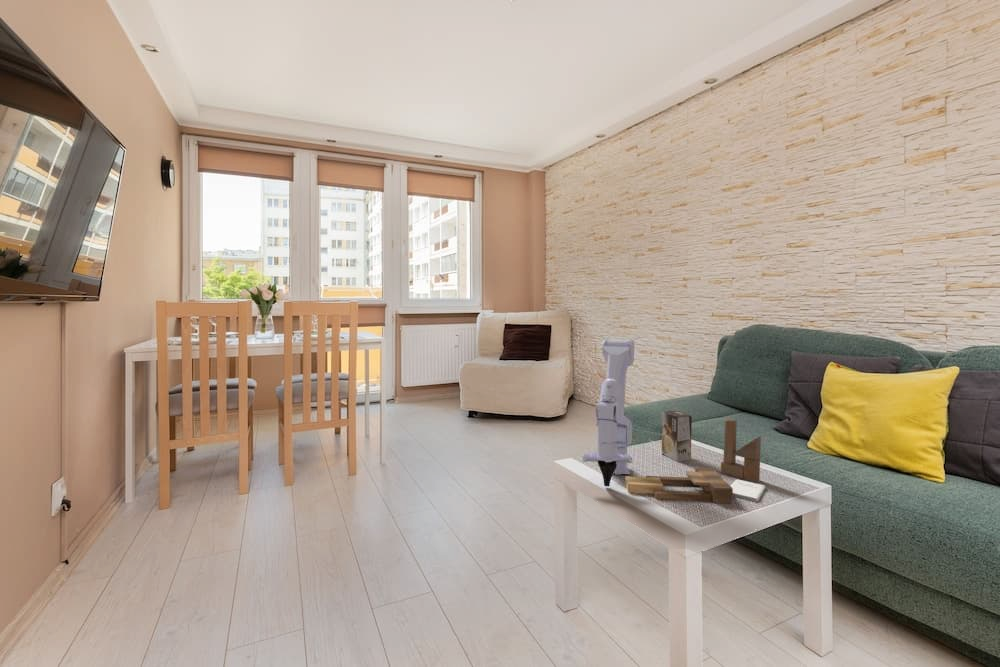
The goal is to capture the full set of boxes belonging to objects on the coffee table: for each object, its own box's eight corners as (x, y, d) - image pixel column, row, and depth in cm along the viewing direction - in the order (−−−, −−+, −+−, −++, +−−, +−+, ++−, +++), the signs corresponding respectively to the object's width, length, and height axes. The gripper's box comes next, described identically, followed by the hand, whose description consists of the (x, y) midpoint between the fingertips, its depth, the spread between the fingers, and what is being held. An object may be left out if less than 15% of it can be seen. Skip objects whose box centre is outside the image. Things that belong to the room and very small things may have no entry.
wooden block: (755, 483, 143) (756, 426, 142) (720, 473, 151) (721, 419, 150) (759, 480, 145) (761, 424, 144) (725, 470, 153) (727, 417, 152)
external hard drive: (725, 496, 134) (735, 483, 144) (757, 504, 129) (765, 490, 139) (725, 491, 134) (735, 478, 144) (757, 498, 129) (765, 484, 139)
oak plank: (625, 485, 142) (625, 476, 142) (658, 487, 141) (659, 477, 141) (627, 493, 136) (628, 483, 136) (662, 495, 135) (663, 485, 135)
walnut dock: (644, 479, 146) (644, 466, 146) (711, 481, 144) (711, 468, 144) (656, 500, 130) (657, 485, 130) (732, 503, 128) (732, 488, 128)
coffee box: (692, 460, 164) (693, 415, 163) (677, 461, 162) (677, 417, 161) (675, 452, 173) (675, 410, 172) (660, 453, 171) (661, 411, 170)
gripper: (583, 444, 135) (583, 489, 136) (634, 445, 134) (633, 491, 135) (581, 437, 142) (581, 480, 143) (629, 438, 141) (629, 481, 142)
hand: (606, 485), depth 139 cm, fingers closed
